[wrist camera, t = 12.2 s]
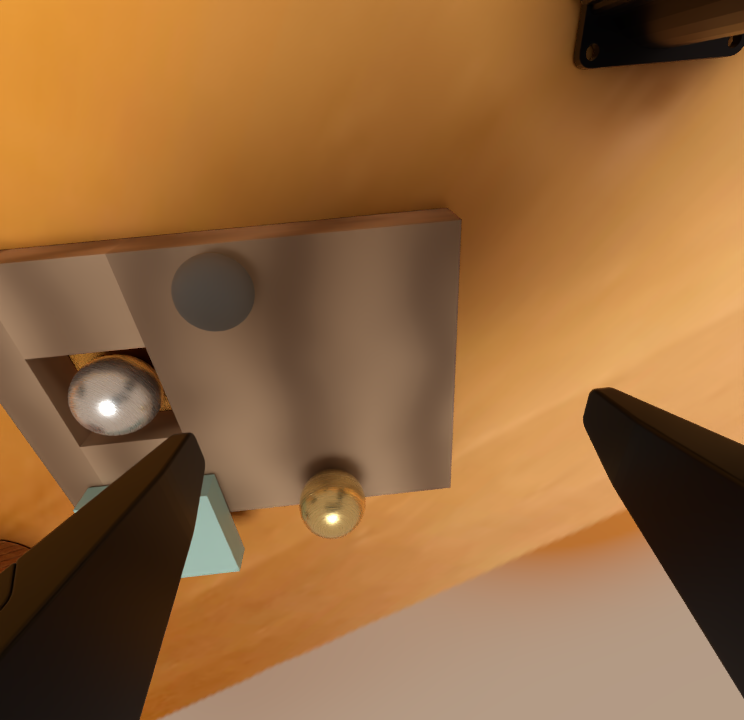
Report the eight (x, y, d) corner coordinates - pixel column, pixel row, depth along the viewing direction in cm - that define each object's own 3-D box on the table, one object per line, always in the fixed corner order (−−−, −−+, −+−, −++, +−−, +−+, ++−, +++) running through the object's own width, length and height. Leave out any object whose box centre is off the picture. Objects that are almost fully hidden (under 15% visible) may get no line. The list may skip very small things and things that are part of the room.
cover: (214, 474, 22) (201, 511, 20) (244, 548, 26) (236, 587, 24) (88, 487, 22) (62, 527, 20) (136, 560, 26) (118, 600, 24)
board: (447, 207, 18) (461, 219, 16) (441, 458, 27) (450, 487, 25) (-44, 254, 18) (-94, 272, 16) (108, 495, 26) (89, 527, 24)
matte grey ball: (251, 239, 16) (235, 263, 13) (267, 308, 18) (255, 341, 15) (175, 247, 16) (145, 272, 13) (198, 315, 18) (175, 349, 15)
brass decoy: (360, 451, 23) (364, 504, 19) (366, 494, 24) (370, 549, 21) (296, 458, 22) (290, 513, 19) (307, 501, 24) (302, 556, 21)
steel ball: (111, 422, 17) (170, 355, 19) (28, 389, 17) (96, 327, 20) (139, 460, 20) (186, 398, 23) (68, 432, 20) (122, 373, 23)
